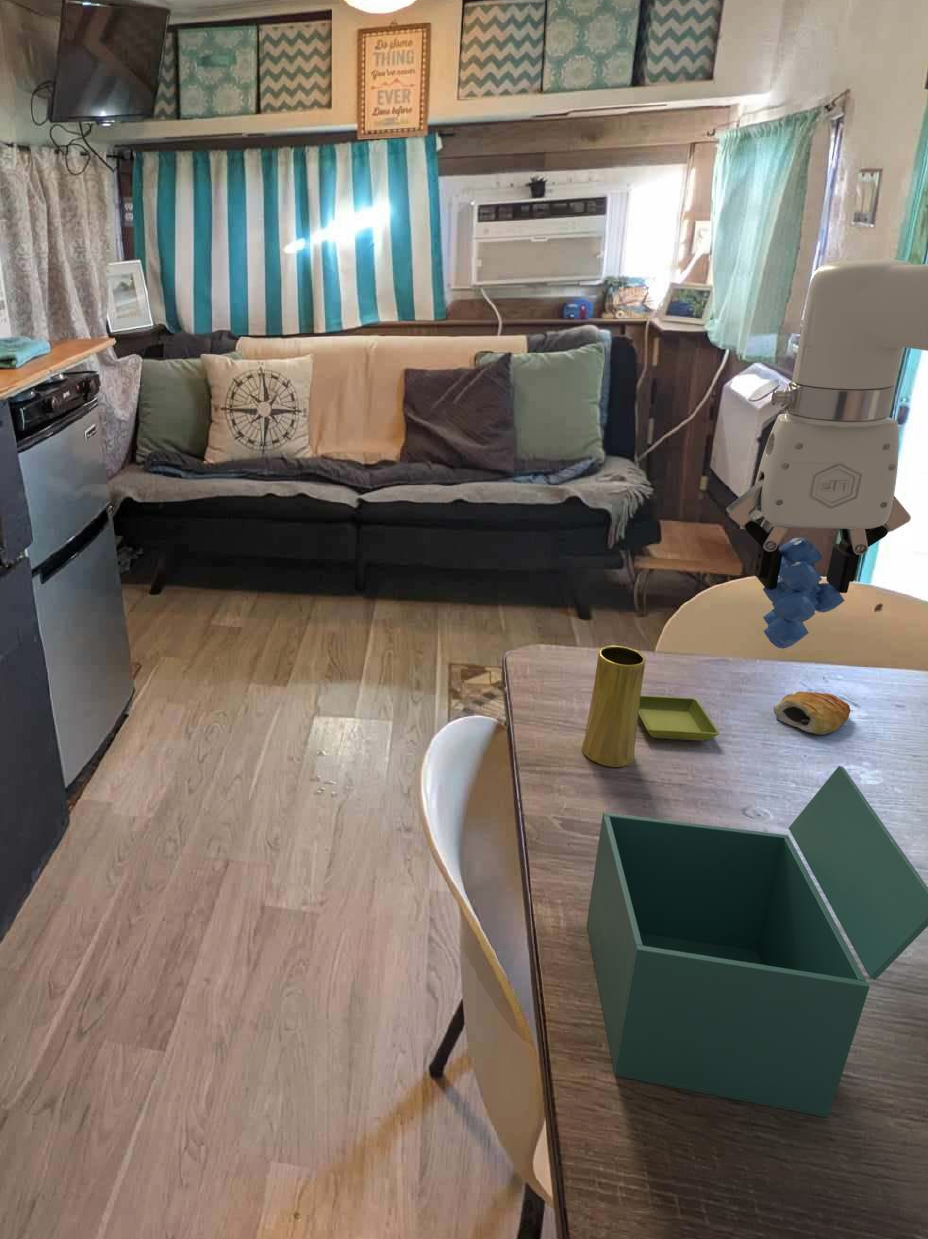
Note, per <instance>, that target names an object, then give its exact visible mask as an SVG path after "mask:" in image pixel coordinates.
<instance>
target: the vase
mask: <svg viewBox="0 0 928 1239" xmlns="http://www.w3.org/2000/svg"><path fill="white" fill-rule="evenodd" d="M646 662H647V659H646V657H645V655H644V654H643V653H642V652H640V651H639V650H636V649H634V648H631V647H628V646H623V645H607V646H603V647H602V648H600V649H599V651H598V655H597V661H596V669H595V676H594V677H595V678H594V684H593V688H592V695H591V700H590V704H589V705H590V706H589V712H588V717H587V721H586V728H585V734H584V738H583V742H582V745H581V749H582V753H583V754H584V755H585V757H586V758H587V759H589V760H590V761H592V762H594V763H596V764H598V765H601V766H603V767H608V768H623V767H628V766H629V765H631V764H632V763H633V762H634V761H635V748H636V739H637V730H638V719H639V714H638V712H639V705H640V696H642V688H643V681H644V674H645V668H646Z"/></svg>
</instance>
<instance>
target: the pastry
mask: <svg viewBox="0 0 928 1239" xmlns="http://www.w3.org/2000/svg"><path fill="white" fill-rule="evenodd" d="M772 711H773V713H774V715H775V718H776V719H777V720H778V721H779V722H782V723H784V724H786V725H788V726H791V727H794V728H797V729H799V730H801V731H803V732H806V733H809V734H814V735H817V736H820V735H821V736H822V735H829V734H831V733H834V732H836V731H838V730H839V729H840V728H841V727H842V726H843V725H844V724H845V723H846V722H847V720H848V719H849V717H850V714H851V707H850V704H849V703H848V702H846V701H844V700H843V699H841V698H839V697H838V696H836V695H834V694H832V693H825V692H823V693H821V692H817V691H813V692H812V691H796V692H795V693H794V694H793V693H790V694H789V693H788V694H786V695H785V696H784V697H782V699H781V701H780V702H778V704H777V705H774V706H773V710H772Z"/></svg>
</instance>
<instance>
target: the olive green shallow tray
mask: <svg viewBox="0 0 928 1239" xmlns="http://www.w3.org/2000/svg"><path fill="white" fill-rule="evenodd" d="M638 717H640V720H641V722H642V723H643V726H644V727H645V728H646V731H647V733H648V734H649V735H650V736H651V737H652V738H653V739H664V740H665V739H666V740H681V741H695V742H697V741H699V742H701V741H703V742H704V741H708V740H710V739H713V738H715V737H717V736H719V735H720V731H719V729H718V728H717V726H716V725H715V723H713V721H712V719H711V718H710V717H709V715H708V713H707V712H706V711H705V708H703V706H702V704H701V703H700V701H699V700H698V699H697V698H692V697H677V696H661V695H660V696H659V695H658V696H657V695H641V696H640V705H639V712H638Z"/></svg>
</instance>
